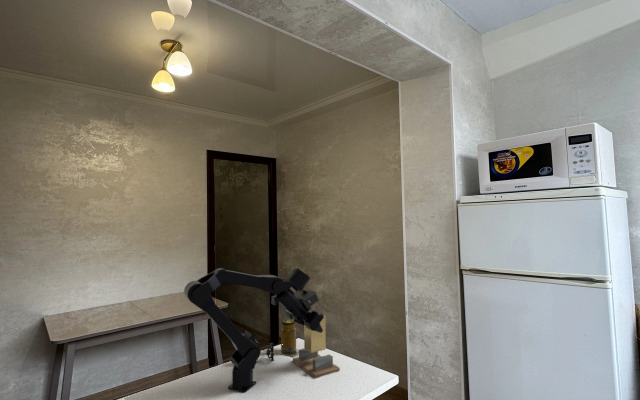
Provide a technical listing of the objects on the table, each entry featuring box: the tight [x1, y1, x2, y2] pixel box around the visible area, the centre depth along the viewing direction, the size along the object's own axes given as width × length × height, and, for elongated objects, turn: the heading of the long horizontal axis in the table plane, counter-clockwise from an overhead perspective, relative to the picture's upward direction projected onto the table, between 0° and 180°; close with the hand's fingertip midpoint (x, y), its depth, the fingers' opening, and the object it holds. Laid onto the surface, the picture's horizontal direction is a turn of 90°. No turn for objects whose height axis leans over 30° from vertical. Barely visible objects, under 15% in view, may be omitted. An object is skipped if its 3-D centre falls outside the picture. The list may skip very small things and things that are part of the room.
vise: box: [292, 348, 340, 379], centre depth 117 cm, size 16×10×4 cm, turn 32°
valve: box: [259, 342, 275, 362], centre depth 120 cm, size 7×7×12 cm
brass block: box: [303, 313, 327, 353], centre depth 117 cm, size 6×5×12 cm
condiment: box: [276, 319, 300, 358], centre depth 130 cm, size 7×8×12 cm
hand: (318, 329), depth 118 cm, fingers closed on brass block, 5 cm apart
